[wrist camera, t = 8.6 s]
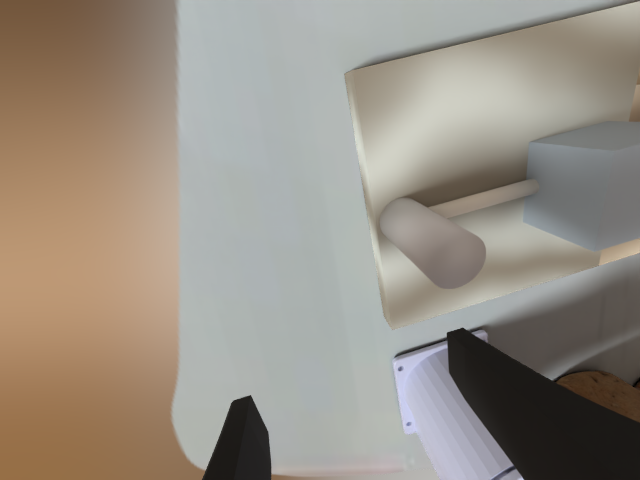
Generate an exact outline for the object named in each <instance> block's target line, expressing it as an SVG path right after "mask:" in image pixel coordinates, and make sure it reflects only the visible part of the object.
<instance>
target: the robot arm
mask: <svg viewBox="0 0 640 480" xmlns="http://www.w3.org/2000/svg"><path fill="white" fill-rule="evenodd" d="M400 366H401V367H400ZM393 369H394V375H395V381H396V387H397V394H398V400H399V406H400V412H401V418H402V424H403V430H404V432H405V434H412V433H415V432H417V434H418V436H419V438H420V440H421V442H422V444H423V446H424V448H425V451H426V453H427V455H428V457H429V459H430V461H431V463H432V465H433V467H434V469H435V471H436V473H437V475H438V477H439V479H440V480H640V422H637V421H635V420H633V419H630V418H628V417H626V416H624V415H621V414H619V413H617V412H615V411H612V410H610V409H608V408H606V407H604V406H602V405H599V404H597V403H595V402H593V401H591V400H589V399H587V398H585V397H583V396H581V395H578V394H576V393H575V392H573V391H571V390H569V389H567V388H565V387H563V386H561V385H559V384H557V383H555V382H553V381H552V380H550V379H548V378H546V377H544V376H542V375H541V374H539V373H537V372H535V371H533V370H532V369H530V368H528V367H527V366H525V365H523V364H521V363H520V362H518V361H516V360H514V359H513V358H511V357H509V356H508V355H506V354H504V353H503V352H501V351H500V350H498V349H496V348H495V347H493V346H491V345H490V344H488V334H487V333H486V332H485V331H484V330H478V331H475V332H472V333H470V332H469V331H467V330H466V329H464V328H460V329H457V330H454V331H451V332H448V333H447V341H444V342H441V343H438V344H435V345H432V346H428V347H425V348H422V349H419V350H416V351H413V352H410V353H407V354H403V355H400V356H397V357H395V358H394V360H393ZM202 480H271V457H270V446H269V435H268V431H267V429H266V426H265V424H264V422H263V420H262V418H261V416H260V414H259V412H258V410H257V407H256V405H255V403H254V401H253V399H252V397H251V395H250V396H246V397H243V398H240V399H237V400H234V401H233V402H232V403H231V406H230V409H229V411H228V414H227V417H226V420H225V423H224V425H223V428H222V431H221V434H220V436H219V439H218V441H217V444H216V447H215V449H214V452H213V454H212V457H211V459H210V461H209V464H208V466H207V469H206V471H205V474H204V476H203V479H202Z"/></svg>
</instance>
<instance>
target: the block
mask: <svg viewBox="0 0 640 480" xmlns="http://www.w3.org/2000/svg"><path fill="white" fill-rule="evenodd" d="M555 383H557V384H559V385H561V386H563V387H565V388H567V389H569V390H571V391H573V392H575V393H576V394H578V395H581V396H583V397H585V398H587V399H589V400H591V401H593V402H595V403H597V404H599V405H602V406H604V407H606V408H608V409H610V410H612V411H615V412H617V413H619V414H621V415H624V416H626V417H628V418H630V419H633V420H635V421H637V422H640V391H639V390H637V389H636V388H634V387H633V386H631V385H629V384H628V383H626V382H625V381H623V380H621V379H620V378H618V377H616V376H615V375H613V374H611V373H607V372H604V371H594V372H591V371H585V372H579V373H574V374H569V375H567V376H564V377H562V378H560V379H559V380H558V381H557V382H555Z"/></svg>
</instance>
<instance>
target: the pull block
mask: <svg viewBox="0 0 640 480" xmlns="http://www.w3.org/2000/svg"><path fill="white" fill-rule="evenodd" d="M524 196H525V200H524V212H523V222H524V223H526V224H528V225H531V226H533V227H536V228H538V229H540V230H543V231H545V232H548V233H550V234H552V235H555V236H557V237H560V238H562V239H564V240H567V241H569V242H572V243H574V244H576V245H579V246H581V247H584V248H586V249H588V250H591V251H593V252H596V251H599V250H602V249H606V248H609V247H612V246H616V245H619V244H622V243H625V242H629V241H632V240H635V239H639V238H640V122H624V121H606V122H602V123H598V124H595V125H591V126H587V127H583V128H580V129H576V130H572V131H568V132H565V133H561V134H557V135H553V136H550V137H546V138H542V139H538V140H535V141H531V142H529V150H528V163H527V175H526V180H525V181H521V182H517V183H514V184H510V185H507V186H503V187H499V188H496V189H492V190H489V191H485V192H481V193H478V194H474V195H471V196H467V197H463V198H460V199H456V200H452V201H449V202H445V203H442V204H438V205H434V206H431V207H425V206H424V205H422V204H420V203H418V202H417V201H415V200H413V199H411V198H407V197H402V198H397V199H395V200H393V201H391V202H390V203H389V204H388V205H387V206H386V207H385V208H384V209H383V211H382V213H381V216H380V222H379V223H380V228H381V231H382V233H383V234H384V235H385V236H386V237H387V238H388V239H389V240H390V241H391V242H392V243H393V244H394V245H395V246H396V247H397V248H398V249H399V250H400V251H401V252H402V253H403V254H404V255H405V256H406V257H407V258H408V259H409V260H410V261H411V262H413V263H414V264H415V265H416V266H417V267H418V268H419V269H420V270H421V271H422V272H423V273H424V274H425V275H426V276H427V277H428V278H429V279H430V280H431V281H432V282H433V283H434V284H435V285H436V286H438V287H440V288H443V289H455V288H459V287H461V286H463V285H465V284H467V283H469V282H470V281H471V280H473V279H474V278H475V277H476V276H477V275H478V273H479V272H480V271H481V269H482V267H483V265H484V262H485V259H486V247H485V244H484V242H483V241H482V240H481V238H479V237H478V236H476V235H475V234H473V233H471V232H469V231H468V230H466V229H464V228H462V227H461V226H459V225H457V224H455V223H454V222H452V221H450V220H448V219H446V218H450V217H454V216H457V215H461V214H464V213H468V212H471V211H475V210H478V209H482V208H485V207H489V206H493V205H496V204H500V203H503V202H507V201H510V200H514V199H517V198H521V197H524Z"/></svg>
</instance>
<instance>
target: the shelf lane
mask: <svg viewBox="0 0 640 480" xmlns="http://www.w3.org/2000/svg"><path fill="white" fill-rule="evenodd" d="M344 75H345V81H346V87H347V93H348V99H349V105H350V111H351V117H352V123H353V130H354V136H355V142H356V148H357V154H358V160H359V166H360V172H361V178H362V185H363V191H364V197H365V203H366V209H367V215H368V221H369V227H370V234H371V240H372V246H373V252H374V258H375V264H376V270H377V276H378V282H379V289H380V295H381V301H382V307H383V313H384V317H385V319H386V321H387V322H388V324H389V326H390V327H391V329H392V330H395V329H398V328H401V327H404V326H408V325H411V324H414V323H417V322H420V321H424V320H427V319H430V318H433V317H436V316H440V315H443V314H446V313H449V312H452V311H456V310H459V309H462V308H465V307H468V306H472V305H475V304H478V303H481V302H484V301H488V300H491V299H494V298H497V297H500V296H504V295H507V294H510V293H513V292H516V291H519V290H523V289H526V288H529V287H532V286H535V285H539V284H542V283H545V282H548V281H551V280H555V279H558V278H561V277H564V276H567V275H571V274H574V273H577V272H580V271H583V270H587V269H590V268H593V267H596V266H599V265H603V264H606V263H609V262H612V261H615V260H619V259H622V258H625V257H628V256H631V255H635V254H638V253H640V238H639V239H635V240H632V241H629V242H625V243H622V244H619V245H616V246H612V247H609V248H606V249H602V250H599V251H596V252H593V251H591V250H588V249H586V248H584V247H581V246H579V245H576V244H574V243H572V242H569V241H567V240H564V239H562V238H560V237H557V236H555V235H552V234H550V233H548V232H545V231H543V230H540V229H538V228H536V227H533V226H531V225H528V224H526V223H524V222H523V212H524V200H525V196H524V197H521V198H517V199H514V200H510V201H507V202H503V203H500V204H496V205H493V206H489V207H485V208H482V209H478V210H475V211H471V212H468V213H464V214H461V215H457V216H454V217H450V218H446V219H448V220H450V221H452V222H454V223H455V224H457V225H459V226H461V227H462V228H464V229H466V230H468V231H469V232H471V233H473V234H475V235H476V236H478V237H479V238H481V240H482V241H483V242H484V244H485V247H486V259H485V262H484V265H483V267H482V269H481V271H480V272H479V273H478V275H477V276H476V277H475V278H474V279H473V280H471V281H470V282H469V283H467V284H465V285H463V286H461V287H459V288H455V289H443V288H440V287H438V286H436V285H435V284H434V283H433V282H432V281H431V280H430V279H429V278H428V277H427V276H426V275H425V274H424V273H423V272H422V271H421V270H420V269H419V268H418V267H417V266H416V265H415V264H414V263H413V262H411V261H410V260H409V259H408V258H407V257H406V256H405V255H404V254H403V253H402V252H401V251H400V250H399V249H398V248H397V247H396V246H395V245H394V244H393V243H392V242H391V241H390V240H389V239H388V238H387V237H386V236H385V235H384V234H383V233H382V231H381V228H380V223H379V222H380V216H381V213H382V211H383V209H384V208H385V207H386V206H387V205H388V204H389V203H390V202H391V201H393V200H395V199H397V198H402V197H407V198H411V199H413V200H415V201H417V202H418V203H420V204H422V205H424V206H425V207H431V206H434V205H438V204H442V203H445V202H449V201H452V200H456V199H460V198H463V197H467V196H471V195H474V194H478V193H481V192H485V191H489V190H492V189H496V188H499V187H503V186H507V185H510V184H514V183H517V182H521V181H525V180H526V175H527V163H528V150H529V142H531V141H535V140H538V139H542V138H546V137H550V136H553V135H557V134H561V133H565V132H568V131H572V130H576V129H580V128H583V127H587V126H591V125H595V124H598V123H602V122H606V121H624V122H640V1H638V2H634V3H629V4H625V5H621V6H617V7H613V8H609V9H605V10H600V11H596V12H592V13H588V14H584V15H580V16H575V17H571V18H567V19H563V20H559V21H555V22H550V23H546V24H542V25H538V26H534V27H530V28H526V29H521V30H517V31H513V32H509V33H505V34H501V35H496V36H492V37H488V38H484V39H480V40H476V41H471V42H467V43H463V44H459V45H455V46H451V47H447V48H442V49H438V50H434V51H430V52H426V53H422V54H417V55H413V56H409V57H405V58H401V59H397V60H392V61H388V62H384V63H380V64H376V65H372V66H368V67H363V68H359V69H355V70H352V71H350V72H347V73H345V74H344Z"/></svg>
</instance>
